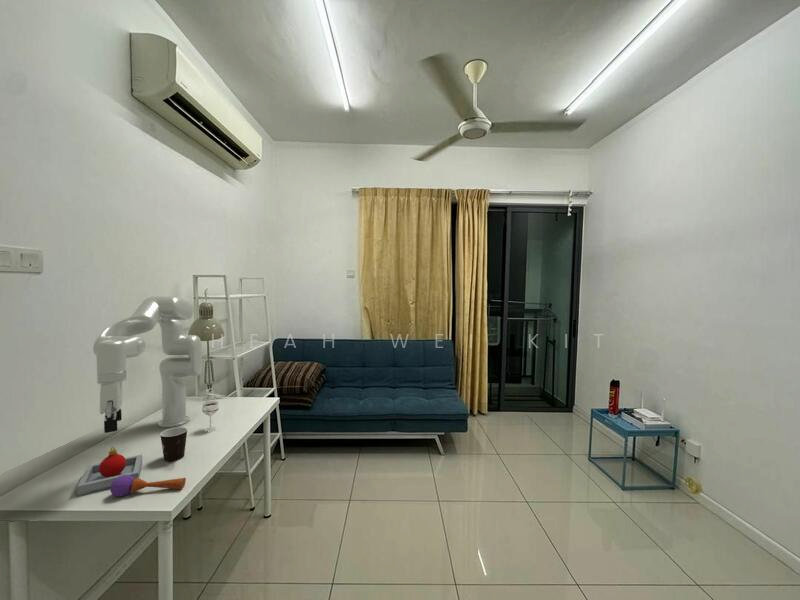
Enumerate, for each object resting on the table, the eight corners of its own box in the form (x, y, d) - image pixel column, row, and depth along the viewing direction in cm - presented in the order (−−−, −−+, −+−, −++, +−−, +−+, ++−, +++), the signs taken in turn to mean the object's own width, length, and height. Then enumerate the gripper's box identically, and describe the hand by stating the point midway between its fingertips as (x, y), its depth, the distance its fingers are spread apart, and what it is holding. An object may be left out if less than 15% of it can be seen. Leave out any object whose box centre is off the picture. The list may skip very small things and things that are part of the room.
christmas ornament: (131, 472, 116) (130, 444, 116) (107, 483, 110) (106, 453, 109) (118, 468, 119) (117, 440, 118) (93, 479, 112) (93, 449, 112)
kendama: (179, 482, 105) (105, 484, 101) (179, 498, 107) (106, 501, 102) (187, 469, 111) (117, 470, 107) (187, 484, 112) (117, 487, 108)
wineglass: (210, 425, 159) (210, 400, 158) (222, 427, 157) (222, 401, 157) (198, 431, 152) (198, 405, 152) (210, 433, 150) (210, 406, 150)
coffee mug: (164, 454, 131) (164, 428, 131) (189, 450, 134) (189, 425, 134) (154, 469, 120) (154, 441, 120) (182, 464, 123) (182, 438, 123)
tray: (88, 473, 116) (87, 465, 116) (142, 462, 124) (142, 454, 124) (77, 496, 104) (76, 486, 104) (138, 481, 112) (138, 472, 112)
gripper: (102, 372, 118) (103, 419, 119) (91, 385, 104) (93, 439, 105) (129, 369, 123) (130, 415, 124) (122, 381, 108) (124, 433, 109)
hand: (113, 426), depth 114 cm, fingers open, 9 cm apart
